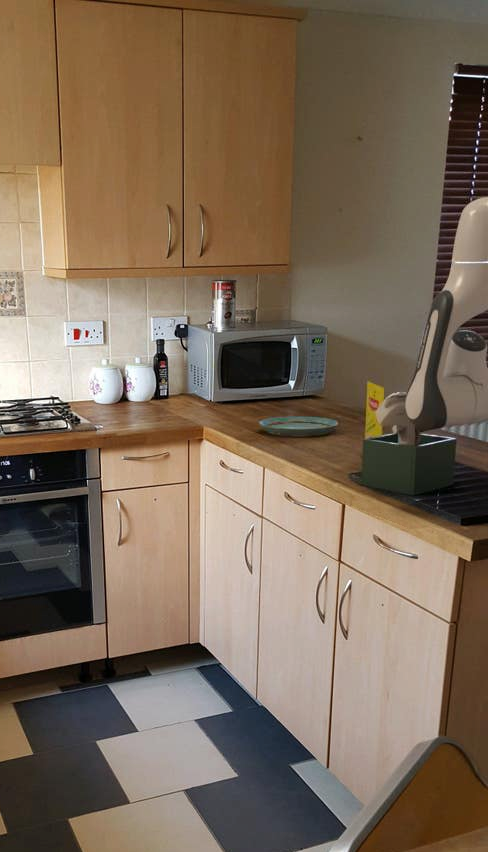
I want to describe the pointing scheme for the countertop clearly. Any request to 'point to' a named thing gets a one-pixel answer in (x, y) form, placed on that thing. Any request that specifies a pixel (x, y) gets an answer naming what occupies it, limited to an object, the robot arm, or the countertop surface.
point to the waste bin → (408, 464)
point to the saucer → (298, 426)
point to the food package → (373, 410)
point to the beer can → (409, 435)
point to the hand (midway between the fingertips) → (408, 430)
